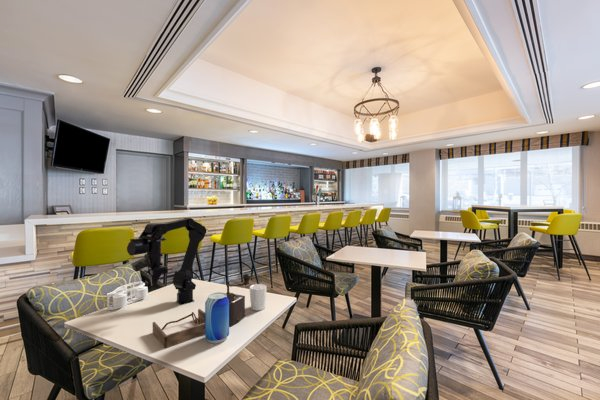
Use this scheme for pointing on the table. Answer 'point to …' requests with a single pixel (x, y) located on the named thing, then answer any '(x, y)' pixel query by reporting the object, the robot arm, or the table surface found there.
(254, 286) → the white cup
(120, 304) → the toilet paper holder
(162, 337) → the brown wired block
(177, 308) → the table surface
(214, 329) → the beer can
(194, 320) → the glasses
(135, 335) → the table surface
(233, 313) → the coffee grinder
